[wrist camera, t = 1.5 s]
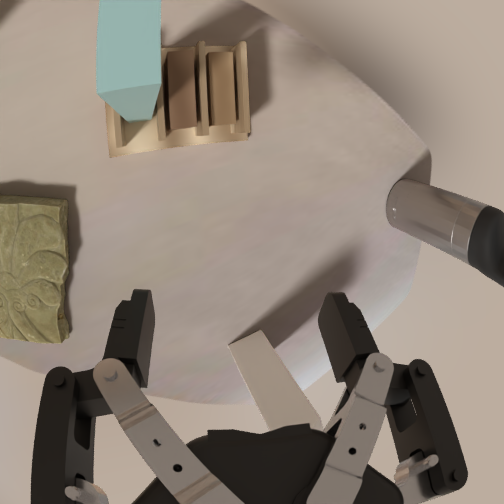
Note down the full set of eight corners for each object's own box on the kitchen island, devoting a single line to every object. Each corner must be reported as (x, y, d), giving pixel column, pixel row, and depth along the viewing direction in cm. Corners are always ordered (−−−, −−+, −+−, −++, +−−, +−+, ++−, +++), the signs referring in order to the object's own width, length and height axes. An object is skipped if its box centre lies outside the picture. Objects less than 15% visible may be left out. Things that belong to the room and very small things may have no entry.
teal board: (149, 77, 26) (161, -21, 7) (151, 119, 28) (161, 83, 9) (126, 80, 25) (101, -12, 6) (129, 123, 27) (96, 93, 8)
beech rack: (240, 48, 29) (258, 34, 24) (244, 140, 34) (263, 141, 29) (105, 58, 24) (98, 43, 19) (110, 157, 29) (103, 161, 24)
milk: (260, 328, 46) (334, 435, 27) (270, 352, 48) (337, 451, 29) (226, 345, 45) (286, 461, 25) (238, 368, 47) (295, 474, 28)
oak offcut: (222, 60, 28) (232, 52, 25) (225, 125, 31) (236, 123, 28) (201, 61, 27) (208, 52, 24) (204, 126, 31) (212, 125, 27)
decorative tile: (-21, 322, 28) (-29, 336, 25) (-40, 193, 22) (-54, 199, 19) (79, 335, 36) (76, 351, 33) (73, 197, 29) (66, 203, 26)
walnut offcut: (186, 61, 27) (193, 49, 22) (189, 128, 30) (197, 126, 26) (164, 63, 26) (167, 51, 22) (167, 130, 29) (171, 129, 25)
